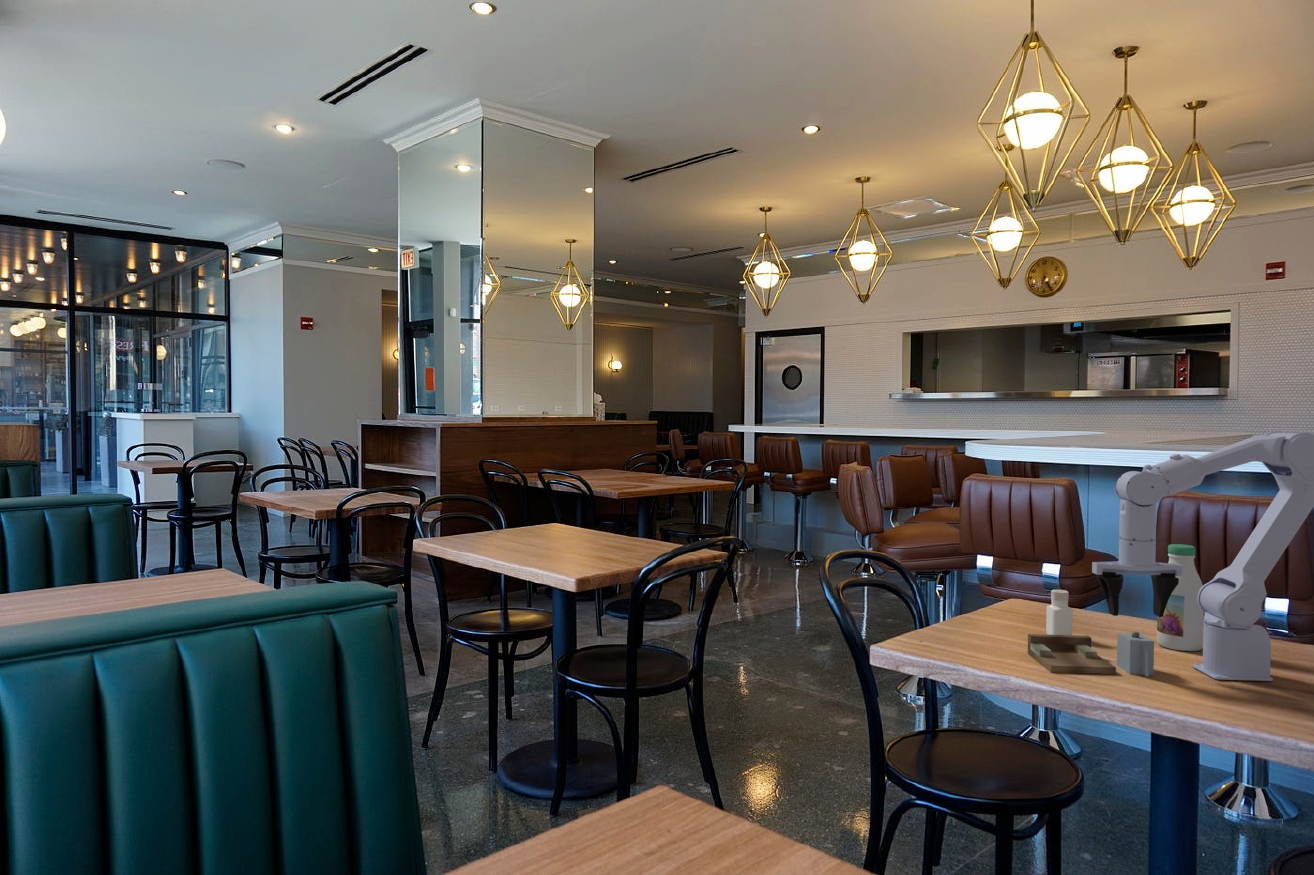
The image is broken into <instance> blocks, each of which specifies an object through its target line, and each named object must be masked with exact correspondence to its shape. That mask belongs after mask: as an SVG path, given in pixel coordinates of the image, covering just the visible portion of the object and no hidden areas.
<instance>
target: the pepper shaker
mask: <svg viewBox="0 0 1314 875" xmlns="http://www.w3.org/2000/svg"><path fill="white" fill-rule="evenodd" d="M1069 594H1070V593H1069V591H1068V590H1065V589H1052V590H1051V591H1050V600H1051V604H1050V605H1047V606H1046V616H1045V618H1046V621H1045V622H1046V626H1045V627H1046V628H1045V630H1046V631H1045V632H1046V633H1045V634H1046V635H1073V622H1074V621H1073V619H1074V618H1073V616H1074V615H1073V609H1072V608H1071V607H1070V606H1069V603H1068V602H1069Z"/></svg>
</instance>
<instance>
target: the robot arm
mask: <svg viewBox="0 0 1314 875" xmlns="http://www.w3.org/2000/svg"><path fill="white" fill-rule="evenodd" d="M1252 462H1258V463H1262V464H1263V465H1264V467H1266V469H1267V470H1268V471H1269V472H1270V473H1271V474H1272V475H1273V477H1274V479H1275V481H1276V484H1277V486H1278V489H1279V491H1278V492H1277V494H1276V495H1275V497H1274V498H1273V500H1272V501H1271V503H1270V504H1269V506H1268V508H1267V509H1266V511H1265V512H1264V514H1263V515H1262V517H1261V518H1260V520H1259V521H1258V522H1257V525H1256V526H1255V528H1254V529H1253V530H1252V532H1251V534H1250V535H1249V537H1248V538H1247V539H1246V541H1245V543H1244V544H1243V545H1242V547H1241V548H1240V551H1239V552H1238V554H1237V555H1236V557H1235V558H1234V560H1232V563H1231V564H1230V565H1229V566H1227V567H1225V568H1224V569H1221V570H1219V571H1218V572H1217V573H1216V574H1215V576H1214V577H1213V578H1212V579H1211V580H1210V581H1208V582H1207V583H1205V584H1202V585H1203V586H1202V587H1201V588H1200V590H1199V592H1198V596H1197V600H1198V604H1199V606H1200V608H1201V609H1202V610H1203V611H1204V618H1203V647H1202V663H1192V664H1191V667H1192V668H1194V669H1196V670H1198V671H1200V672H1201V673H1203V674H1205V675H1207V676H1209V677H1210V678H1213V679H1214V680H1218V681H1219V680H1223V681H1224V680H1226V681H1228V680H1229V681H1254V682H1255V681H1257V682H1258V681H1259V682H1260V681H1262V682H1273V681H1274V679H1273V677H1271V660H1272V658H1271V654H1272V651H1271V650H1272V643H1271V638H1270V635H1269V633H1268V631H1267V630H1266V629H1265V627H1263V626H1262V625H1259V624H1255V623H1256V622H1257V621H1258V620H1259V618H1260V616H1261V613H1262V605H1263V602H1264V600H1265V598H1266V597H1267V596H1268V595H1267V594H1268V593H1267V590H1266V586H1265V585H1266V584H1265V581H1266V580H1267V578H1268V577H1269V575H1270V574H1271V572H1272V570H1273V568H1274V567H1275V566H1276V564H1277V563H1278V561H1279V560H1280V559H1281V556H1283V553H1284V552H1285V550H1286V549H1287V547H1288V546H1289V545H1290V543H1291V541H1292V540H1293V539H1294V537H1295V535H1296V534H1297V533H1298V531H1299V530H1300V528H1301V527H1302V525H1303V523H1304V522H1305V520H1306V519H1307V518H1308V516H1309V514H1310V513H1311V511H1312V510H1313V508H1314V433H1311V432H1283V431H1276V430H1275V431H1270V432H1267V433H1265V434H1258V435H1254V436H1251V437H1248V438H1246V439H1243V440H1241V441H1237V442H1235V443H1233V444H1230V445H1227V446H1225V447H1221V448H1219V449H1217V450H1214V451H1212V452H1209V453H1207V454H1205V455H1201V456H1199V457H1197V458H1195V457H1193V456H1191V455H1188V454H1183V455H1181V454H1179V453H1175V454H1172V455H1169V460H1165V461H1162V462H1160V463H1157V464H1154V465H1151V464H1146V465H1143V466H1142V471H1136V470H1132V471H1131V470H1130V471H1127V472H1125V473H1122V475H1121V476H1120V477H1118V480H1117V482H1116V485H1114V486H1113V488H1114V493H1115V495H1116V496H1117V497H1118V499H1119V518H1118V520H1119V524H1118V525H1119V529H1118V560H1116V561H1115V560H1113V561H1092V563H1091V573H1092V574H1095V578H1096V579H1097V581H1098V583H1099V585H1100V587H1101V589H1102V592H1103V594H1104V598H1105V600H1106V604H1107V607H1108V609H1107V610H1108V614H1109V615H1112V616H1115V617H1117V616H1119V610H1120V609H1119V608H1120V607H1119V606H1120V603H1119V601H1120V599H1119V597H1120V590H1121V585H1122V581H1123V580H1122V579H1120V578H1119V577H1118V575H1135V576H1137V575H1139V576H1140V575H1143V576H1145V575H1146V576H1150V578H1151V584H1152V593H1153V594H1152V595H1153V597H1152V598H1153V601H1152V602H1153V604H1152V611H1153V615H1154V616H1159V617H1163V615H1164V611H1165V608H1166V605H1167V602H1168V600H1169V598H1170V596H1171V594H1172V592H1173V591H1174V589H1175V588H1176V586H1177V585H1178V583H1179V578H1177V577H1175V576H1182V565H1179V564H1175V563H1168V562H1156V557H1157V556H1156V555H1157V554H1156V552H1157V551H1156V550H1157V547H1156V546H1157V504H1158V503H1159V501H1160V500H1161V499H1162V498H1164V497H1168V496H1171V495H1173V494H1177V493H1179V492H1182V491H1185V490H1190V489H1192V488H1194V487H1197V486H1199V485H1201V484H1202V483H1203V480H1204V479H1205V477H1206V476H1208V475H1210V474H1214V473H1217V472H1221V471H1225V470H1228V469H1231V468H1236V467H1238V466H1241V465H1245V464H1248V463H1252Z"/></svg>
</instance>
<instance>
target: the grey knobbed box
mask: <svg viewBox="0 0 1314 875" xmlns="http://www.w3.org/2000/svg"><path fill="white" fill-rule="evenodd" d="M1116 637H1117V639H1116V640H1117V641H1116V644H1117V645H1116V667H1118V668H1119V669H1121V670H1123V671H1124V672H1125V673H1127V674H1129V675H1141V674H1144V675H1143V676H1146V677H1147V678H1148V677H1150V676H1153V675H1154V665H1155V664H1154V663H1155V662H1154V660H1155V657H1154V656H1155V640H1153V639H1151V638H1149V637H1147V636H1146V635H1144V634H1142V633H1140V632H1138V631H1131V633H1128V632H1127V633H1126V632H1125V633H1124V632H1117V636H1116Z"/></svg>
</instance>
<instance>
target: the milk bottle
mask: <svg viewBox="0 0 1314 875" xmlns="http://www.w3.org/2000/svg"><path fill="white" fill-rule="evenodd" d="M1167 553H1168V554H1167V556H1168V562H1167V563H1175V564H1179V565H1182V576H1175V577H1177V578H1179V583H1178V585H1177V586H1176V588H1175V589H1174V591H1173V592H1172V594H1171V596H1170V598H1169V600H1168V602H1167V605H1166V608H1165V611H1164V615H1163V617H1159V616H1157V617H1156V618H1157V620H1156V621H1157V623H1156V624H1157V625H1156V643H1157V644H1158V646H1160V647H1163V648H1167V649H1171V650H1175V651H1183V652H1197V651H1201V650H1203V627H1204V615H1205V612H1204V611H1203V610H1202V609H1201V608H1200V606H1199V604H1198V600H1197V596H1198V592H1199V590H1200V588H1201V587H1202V586H1203V585H1204V584H1203V582H1202V580H1201V578H1200V575H1199V574H1198V571H1197V568H1196V565H1195V558H1196V547H1195V546H1193V545H1190V544H1189V545H1188V544H1178V543H1177V544H1176V543H1175V544H1173V543H1172V544H1168V546H1167Z"/></svg>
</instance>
